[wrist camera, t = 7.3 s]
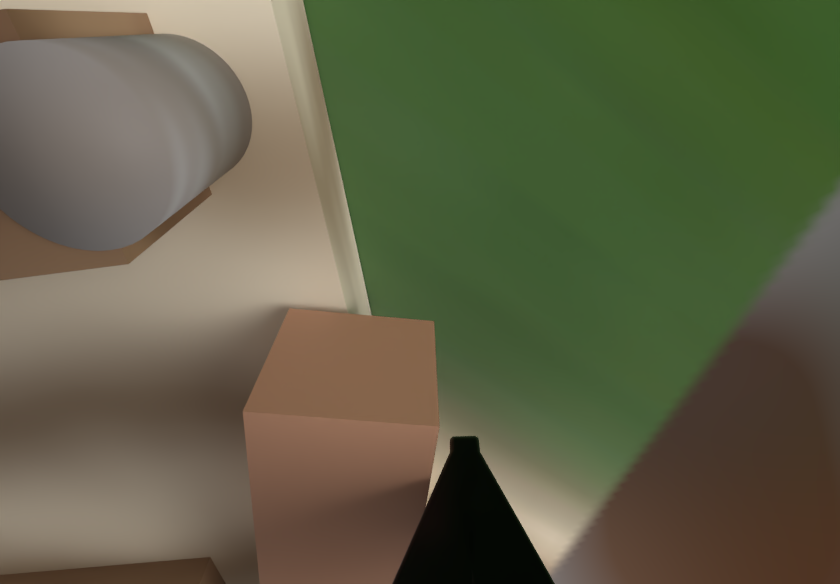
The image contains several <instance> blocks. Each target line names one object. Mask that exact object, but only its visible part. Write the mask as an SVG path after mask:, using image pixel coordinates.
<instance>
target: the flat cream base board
mask: <svg viewBox="0 0 840 584" xmlns="http://www.w3.org/2000/svg"><path fill="white" fill-rule="evenodd" d="M289 308H291V309H303V310H314V311H325V312H336V313H348V314H359V315H370V316H372V315H371V310H370V305H369V301H368V296H367V292H366V287H365V283H364V278H363V273H362V269H361V264H360V260H359V255H358V251H357V246H356V241H355V237H354V232H353V228H352V223H351V219H350V214H349V209H348V205H347V200H346V196H345V191H344V186H343V182H342V177H341V173H340V168H339V164H338V159H337V154H336V150H335V145H334V141H333V136H332V132H331V127H330V122H329V118H328V113H327V109H326V104H325V100H324V95H323V90H322V86H321V81H320V77H319V72H318V67H317V63H316V58H315V54H314V49H313V45H312V40H311V35H310V31H309V26H308V22H307V17H306V13H305V8H304V3H303V0H0V584H260V581H259V571H258V561H257V551H256V541H255V531H254V521H253V511H252V501H251V491H250V481H249V471H248V461H247V450H246V440H245V430H244V420H243V410H244V407H245V405H246V403H247V401H248V399H249V396H250V394H251V392H252V390H253V388H254V385H255V383H256V381H257V379H258V376H259V374H260V372H261V370H262V368H263V365H264V363H265V361H266V359H267V357H268V354H269V352H270V350H271V348H272V345H273V343H274V341H275V339H276V337H277V334H278V332H279V330H280V328H281V326H282V323H283V321H284V319H285V317H286V314H287V312H288V310H289Z"/></svg>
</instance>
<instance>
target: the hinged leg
mask: <svg viewBox="0 0 840 584" xmlns="http://www.w3.org/2000/svg"><path fill="white" fill-rule="evenodd" d="M243 420H244V430H245V440H246V450H247V461H248V471H249V481H250V491H251V501H252V511H253V521H254V531H255V541H256V551H257V561H258V571H259V581H260V584H392V583H393V581H394V578H395V576H396V574H397V571H398V569H399V567H400V565H401V562H402V560H403V558H404V556H405V553H406V551H407V549H408V547H409V544H410V542H411V540H412V537H413V535H414V533H415V531H416V528H417V526H418V524H419V522H420V519H421V517H422V515H423V513H424V510H425V507H426V502H427V496H428V490H429V484H430V478H431V473H432V467H433V461H434V455H435V449H436V444H437V438H438V432H439V408H438V389H437V369H436V349H435V330H434V321H426V320H415V319H404V318H392V317H381V316H370V315H359V314H348V313H336V312H325V311H314V310H303V309H291V308H289V310H288V312H287V314H286V317H285V319H284V321H283V323H282V326H281V328H280V330H279V332H278V334H277V337H276V339H275V341H274V343H273V345H272V348H271V350H270V352H269V354H268V357H267V359H266V361H265V363H264V365H263V368H262V370H261V372H260V374H259V376H258V379H257V381H256V383H255V385H254V388H253V390H252V392H251V394H250V396H249V399H248V401H247V403H246V405H245V407H244V410H243Z"/></svg>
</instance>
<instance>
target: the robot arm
mask: <svg viewBox="0 0 840 584" xmlns="http://www.w3.org/2000/svg"><path fill="white" fill-rule="evenodd" d="M392 584H555V583H554V582H553V580H552V578H551V576H550V574H549V573H548V571H547V569H546V567H545V566H544V564H543V562H542V560H541V559H540V557H539V555H538V553H537V552H536V550H535V548H534V546H533V544H532V543H531V541H530V539H529V537H528V536H527V534H526V532H525V530H524V529H523V527H522V525H521V523H520V522H519V520H518V518H517V516H516V514H515V513H514V511H513V509H512V507H511V506H510V504H509V502H508V500H507V499H506V497H505V495H504V493H503V492H502V490H501V488H500V486H499V485H498V483H497V481H496V479H495V477H494V476H493V474H492V472H491V470H490V469H489V467H488V465H487V463H486V462H485V460H484V458H483V456H482V455H481V453H480V447H479V440H478V438H477V437H476V436H460V437H452V438H451V439H450V454H449V456H448V458H447V460H446V463H445V465H444V467H443V469H442V472H441V474H440V476H439V479H438V481H437V483H436V485H435V488H434V490H433V492H432V494H431V497H430V499H429V501H428V503H427V506H426V508H425V510H424V513H423V515H422V517H421V519H420V522H419V524H418V526H417V528H416V531H415V533H414V535H413V537H412V540H411V542H410V544H409V547H408V549H407V551H406V553H405V556H404V558H403V560H402V562H401V565H400V567H399V569H398V571H397V574H396V576H395V578H394V581H393V583H392Z"/></svg>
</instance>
